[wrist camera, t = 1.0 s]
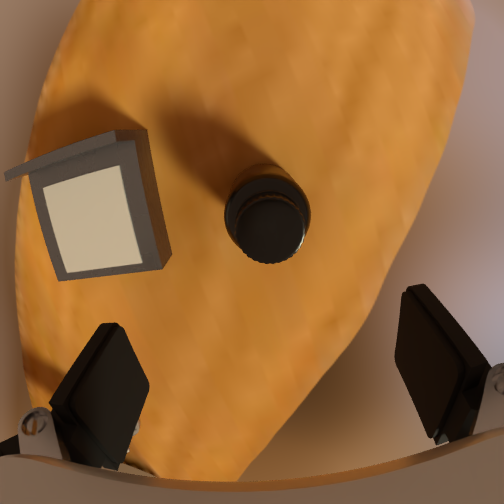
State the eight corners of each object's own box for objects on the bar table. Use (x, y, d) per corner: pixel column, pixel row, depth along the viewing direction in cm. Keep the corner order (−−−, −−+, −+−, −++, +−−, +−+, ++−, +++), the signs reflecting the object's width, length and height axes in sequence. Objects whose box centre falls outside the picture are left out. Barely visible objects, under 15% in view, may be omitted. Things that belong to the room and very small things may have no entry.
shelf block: (172, 254, 34) (150, 287, 27) (74, 267, 35) (40, 297, 28) (147, 129, 29) (114, 130, 22) (46, 161, 30) (4, 172, 23)
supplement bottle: (233, 229, 33) (221, 279, 22) (228, 164, 31) (212, 182, 19) (298, 226, 33) (318, 275, 22) (297, 162, 30) (320, 178, 19)
